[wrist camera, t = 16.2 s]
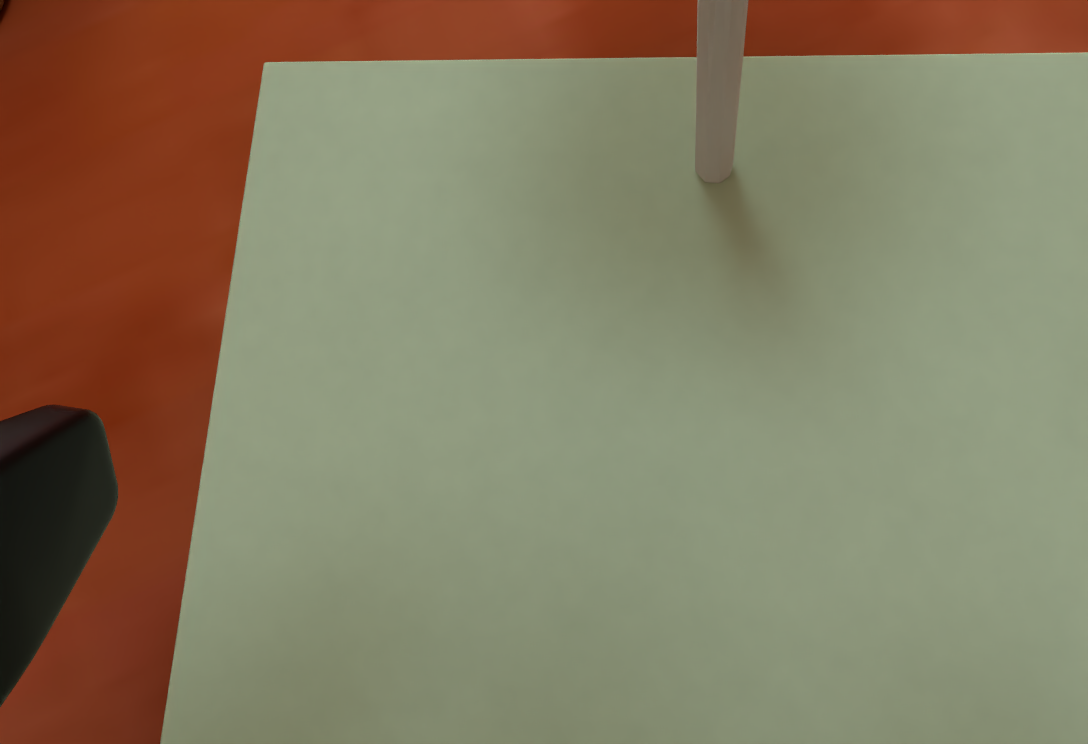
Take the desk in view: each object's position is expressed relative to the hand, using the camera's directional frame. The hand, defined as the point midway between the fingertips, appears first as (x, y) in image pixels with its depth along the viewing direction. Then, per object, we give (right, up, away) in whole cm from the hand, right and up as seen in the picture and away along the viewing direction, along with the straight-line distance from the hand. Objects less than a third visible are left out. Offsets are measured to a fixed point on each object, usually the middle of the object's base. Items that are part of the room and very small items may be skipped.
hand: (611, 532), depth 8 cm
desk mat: (+2, -3, +9) cm, 10 cm away
